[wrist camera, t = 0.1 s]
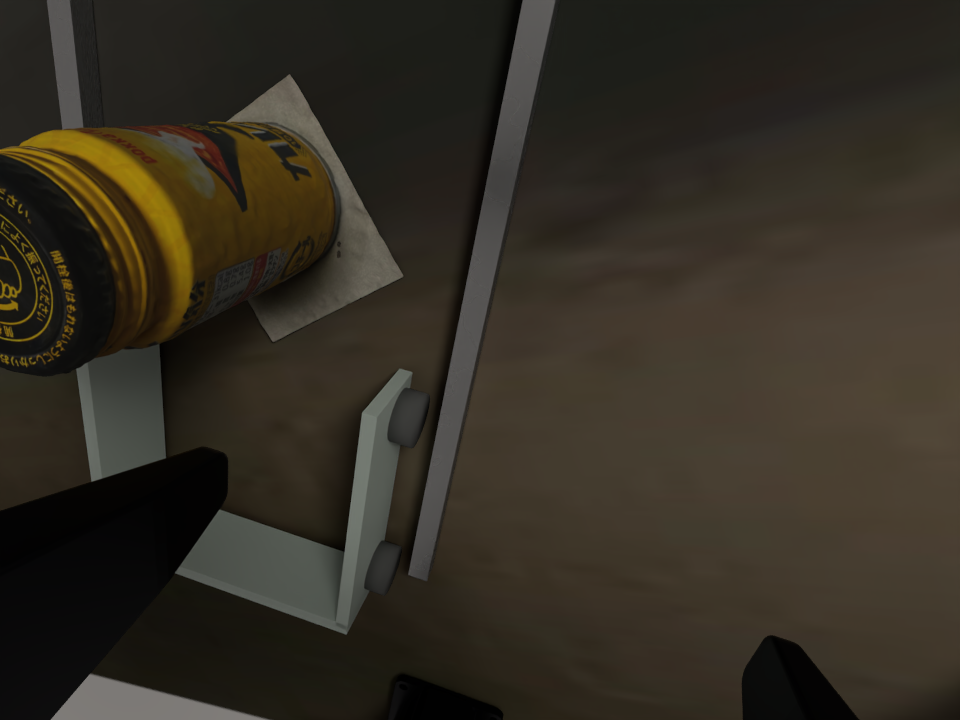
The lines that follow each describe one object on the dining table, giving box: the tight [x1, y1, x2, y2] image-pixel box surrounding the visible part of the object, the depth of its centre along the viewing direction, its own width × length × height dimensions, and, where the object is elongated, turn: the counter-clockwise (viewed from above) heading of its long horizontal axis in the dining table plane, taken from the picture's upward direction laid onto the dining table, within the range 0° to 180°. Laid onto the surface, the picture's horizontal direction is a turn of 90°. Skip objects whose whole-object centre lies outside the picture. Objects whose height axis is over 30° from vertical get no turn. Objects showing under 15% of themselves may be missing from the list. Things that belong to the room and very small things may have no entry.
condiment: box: [0, 75, 403, 376], centre depth 18 cm, size 7×8×12 cm
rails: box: [47, 0, 560, 581], centre depth 24 cm, size 28×19×1 cm, turn 168°
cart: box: [76, 344, 430, 635], centre depth 26 cm, size 12×15×4 cm
